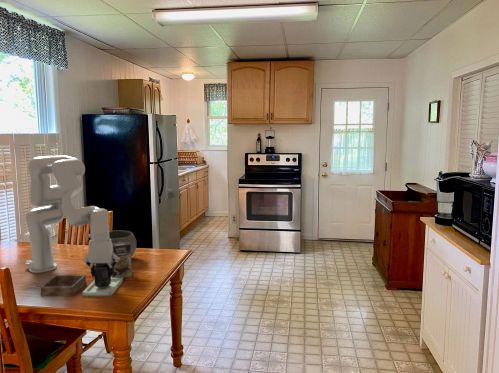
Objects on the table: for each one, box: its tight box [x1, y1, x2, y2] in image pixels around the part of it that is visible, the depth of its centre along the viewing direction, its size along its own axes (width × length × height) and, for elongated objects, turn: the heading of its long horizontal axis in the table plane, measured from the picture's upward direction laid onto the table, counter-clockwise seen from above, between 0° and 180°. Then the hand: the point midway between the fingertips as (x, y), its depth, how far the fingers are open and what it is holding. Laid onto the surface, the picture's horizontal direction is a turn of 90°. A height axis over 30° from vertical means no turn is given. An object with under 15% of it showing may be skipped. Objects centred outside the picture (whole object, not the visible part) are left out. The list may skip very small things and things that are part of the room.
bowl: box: [109, 230, 138, 258], centre depth 205 cm, size 20×20×15 cm
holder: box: [39, 274, 87, 297], centre depth 170 cm, size 14×14×4 cm
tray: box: [81, 277, 124, 297], centre depth 171 cm, size 12×16×2 cm
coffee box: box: [111, 241, 133, 279], centre depth 185 cm, size 9×6×16 cm
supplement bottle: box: [93, 263, 112, 287], centre depth 170 cm, size 7×7×12 cm
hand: (102, 275), depth 170 cm, fingers closed on supplement bottle, 6 cm apart
